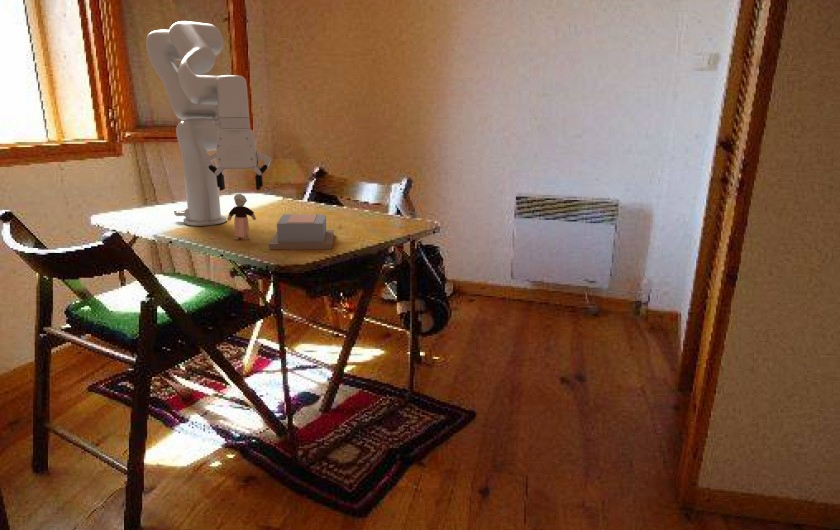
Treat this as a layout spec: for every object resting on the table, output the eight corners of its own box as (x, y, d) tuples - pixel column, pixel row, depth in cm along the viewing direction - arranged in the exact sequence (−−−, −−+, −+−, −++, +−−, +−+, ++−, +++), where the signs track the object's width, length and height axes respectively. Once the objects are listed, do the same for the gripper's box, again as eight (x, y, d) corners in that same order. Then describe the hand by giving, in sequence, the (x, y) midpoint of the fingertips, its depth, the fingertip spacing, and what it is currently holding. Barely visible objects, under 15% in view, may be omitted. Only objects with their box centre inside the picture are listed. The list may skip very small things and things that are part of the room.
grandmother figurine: (228, 241, 149) (224, 195, 145) (229, 237, 152) (225, 193, 149) (257, 239, 151) (254, 194, 147) (257, 236, 154) (254, 192, 151)
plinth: (269, 249, 141) (267, 224, 139) (278, 235, 156) (276, 212, 154) (331, 249, 143) (330, 224, 141) (333, 234, 158) (333, 212, 156)
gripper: (196, 125, 138) (203, 192, 143) (266, 125, 140) (270, 191, 144) (205, 124, 145) (211, 188, 150) (270, 124, 147) (275, 187, 152)
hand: (240, 189), depth 147 cm, fingers open, 9 cm apart
